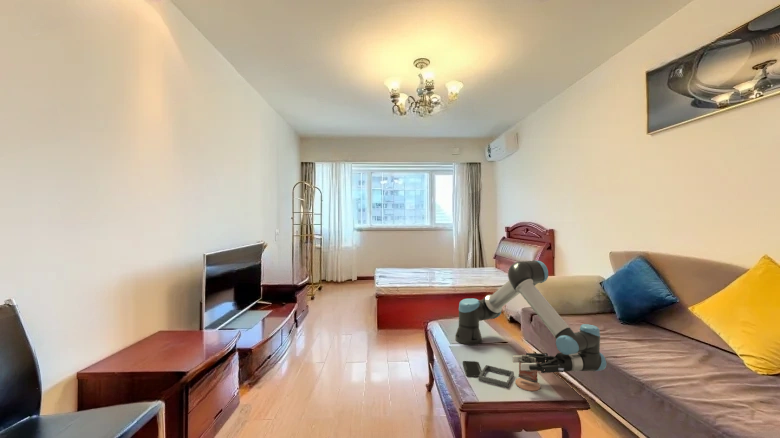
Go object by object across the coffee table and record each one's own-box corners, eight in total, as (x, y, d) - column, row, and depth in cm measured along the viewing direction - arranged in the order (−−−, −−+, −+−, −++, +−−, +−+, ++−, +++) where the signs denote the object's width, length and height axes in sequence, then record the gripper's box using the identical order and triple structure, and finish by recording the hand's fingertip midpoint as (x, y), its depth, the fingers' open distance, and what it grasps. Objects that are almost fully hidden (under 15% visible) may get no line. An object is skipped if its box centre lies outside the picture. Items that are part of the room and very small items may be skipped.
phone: (478, 361, 166) (483, 376, 151) (478, 363, 166) (483, 378, 151) (462, 360, 166) (466, 375, 151) (462, 363, 166) (466, 377, 151)
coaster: (517, 377, 152) (517, 375, 152) (541, 383, 146) (541, 381, 146) (513, 386, 143) (513, 385, 143) (538, 393, 138) (538, 391, 138)
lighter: (517, 376, 146) (517, 354, 146) (520, 374, 149) (520, 351, 149) (535, 383, 141) (536, 359, 140) (539, 380, 143) (539, 357, 143)
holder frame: (486, 369, 159) (486, 364, 159) (513, 376, 153) (513, 371, 153) (478, 380, 148) (478, 375, 148) (508, 388, 142) (508, 383, 142)
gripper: (582, 381, 136) (527, 383, 134) (555, 360, 156) (507, 361, 154) (582, 363, 136) (528, 364, 134) (555, 344, 156) (507, 345, 154)
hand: (517, 362), depth 144 cm, fingers closed on lighter, 7 cm apart
